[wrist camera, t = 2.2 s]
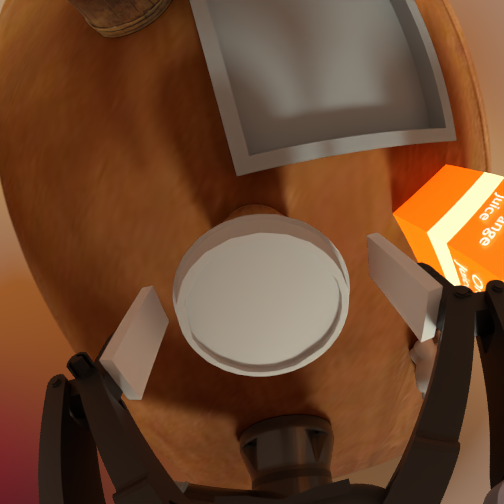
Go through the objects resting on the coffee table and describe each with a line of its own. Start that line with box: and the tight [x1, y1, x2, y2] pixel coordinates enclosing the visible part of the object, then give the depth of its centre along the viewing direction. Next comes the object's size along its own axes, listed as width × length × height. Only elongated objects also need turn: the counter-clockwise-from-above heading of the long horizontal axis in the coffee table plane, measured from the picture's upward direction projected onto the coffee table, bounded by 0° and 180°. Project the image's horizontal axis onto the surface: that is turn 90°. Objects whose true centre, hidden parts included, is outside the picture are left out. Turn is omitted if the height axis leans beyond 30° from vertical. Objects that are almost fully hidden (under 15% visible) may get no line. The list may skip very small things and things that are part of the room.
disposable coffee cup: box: [173, 204, 350, 376], centre depth 19 cm, size 10×10×12 cm
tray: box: [190, 0, 457, 176], centre depth 16 cm, size 20×20×4 cm
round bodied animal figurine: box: [410, 329, 441, 400], centre depth 28 cm, size 7×12×8 cm, turn 15°
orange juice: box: [393, 165, 504, 292], centre depth 14 cm, size 8×9×20 cm
